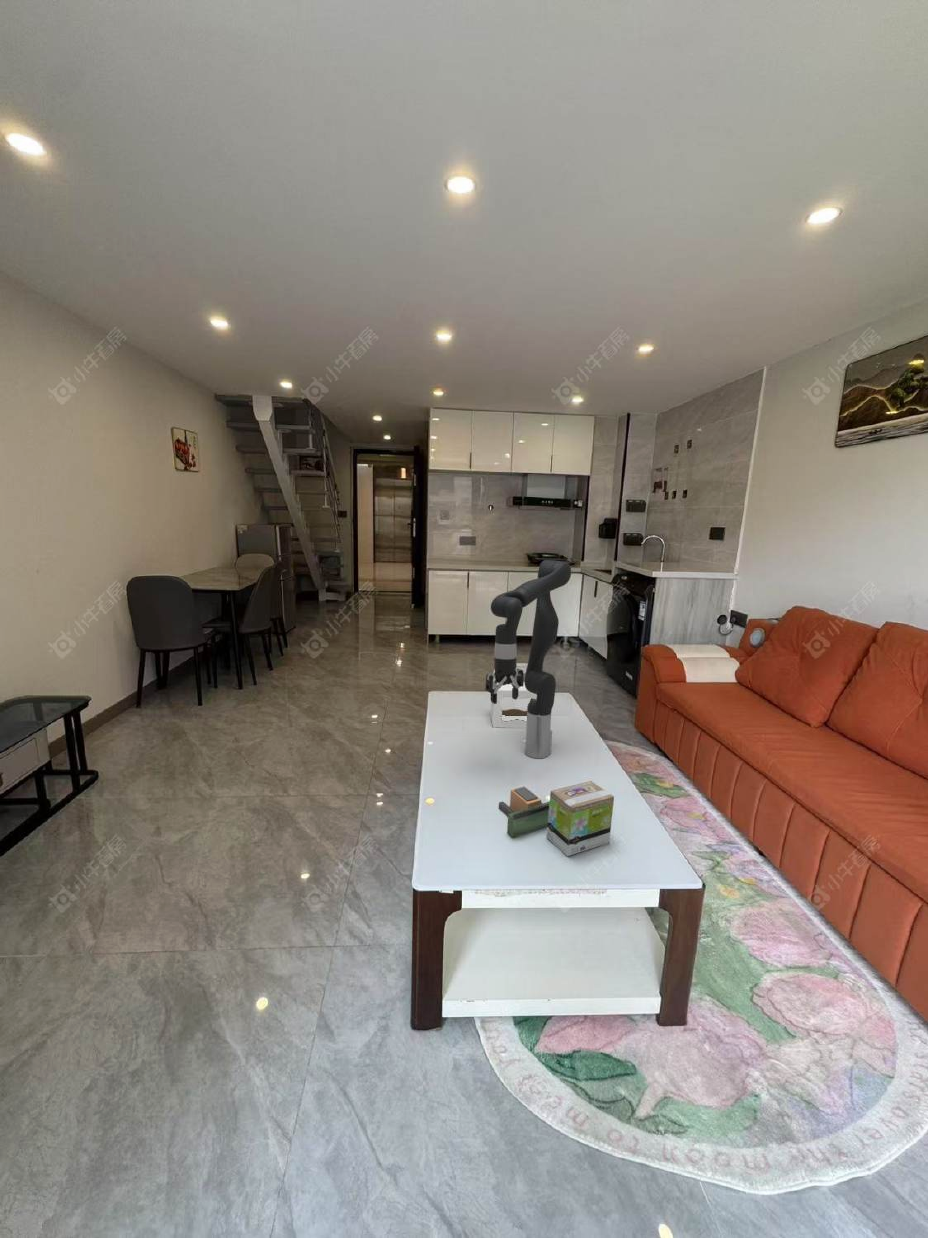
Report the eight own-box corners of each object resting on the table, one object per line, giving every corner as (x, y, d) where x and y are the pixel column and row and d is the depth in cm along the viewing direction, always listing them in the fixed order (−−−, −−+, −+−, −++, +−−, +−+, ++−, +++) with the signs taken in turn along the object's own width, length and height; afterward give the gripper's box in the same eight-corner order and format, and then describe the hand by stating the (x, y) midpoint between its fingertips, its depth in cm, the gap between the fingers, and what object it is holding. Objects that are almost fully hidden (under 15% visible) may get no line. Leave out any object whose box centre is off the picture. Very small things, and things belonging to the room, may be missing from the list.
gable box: (492, 728, 219) (494, 666, 215) (490, 716, 232) (492, 658, 228) (542, 729, 220) (545, 667, 215) (537, 717, 233) (540, 659, 228)
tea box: (568, 858, 133) (572, 807, 130) (545, 838, 142) (548, 789, 139) (610, 843, 140) (615, 795, 137) (586, 824, 149) (590, 778, 146)
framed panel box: (522, 803, 159) (523, 784, 158) (540, 818, 152) (541, 798, 150) (509, 807, 157) (510, 788, 156) (526, 822, 149) (527, 802, 148)
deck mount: (541, 795, 164) (543, 775, 163) (573, 819, 151) (574, 797, 150) (485, 812, 153) (485, 790, 152) (513, 839, 140) (514, 816, 139)
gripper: (515, 650, 175) (514, 694, 178) (481, 655, 168) (481, 701, 171) (529, 655, 168) (527, 700, 172) (494, 660, 161) (493, 708, 164)
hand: (504, 701), depth 171 cm, fingers open, 8 cm apart
